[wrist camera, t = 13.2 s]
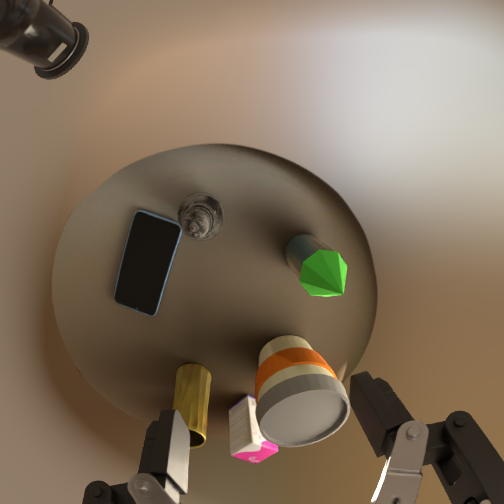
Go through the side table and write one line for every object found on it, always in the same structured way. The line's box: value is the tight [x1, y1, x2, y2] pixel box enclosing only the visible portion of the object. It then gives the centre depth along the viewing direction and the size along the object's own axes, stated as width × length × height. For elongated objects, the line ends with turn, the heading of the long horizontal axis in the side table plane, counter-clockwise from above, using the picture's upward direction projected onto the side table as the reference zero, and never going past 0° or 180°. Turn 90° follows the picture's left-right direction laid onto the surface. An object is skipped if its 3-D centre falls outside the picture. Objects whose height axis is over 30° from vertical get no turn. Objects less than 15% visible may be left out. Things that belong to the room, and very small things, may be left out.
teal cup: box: [285, 234, 344, 280], centre depth 36 cm, size 6×6×9 cm
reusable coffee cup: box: [255, 335, 350, 447], centre depth 38 cm, size 13×13×15 cm
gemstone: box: [299, 250, 347, 296], centre depth 29 cm, size 6×6×6 cm
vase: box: [172, 364, 211, 449], centre depth 38 cm, size 6×6×14 cm
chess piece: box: [178, 193, 225, 240], centre depth 32 cm, size 6×6×12 cm
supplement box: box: [229, 394, 278, 464], centre depth 42 cm, size 6×6×12 cm
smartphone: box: [114, 210, 182, 316], centre depth 38 cm, size 7×1×15 cm
